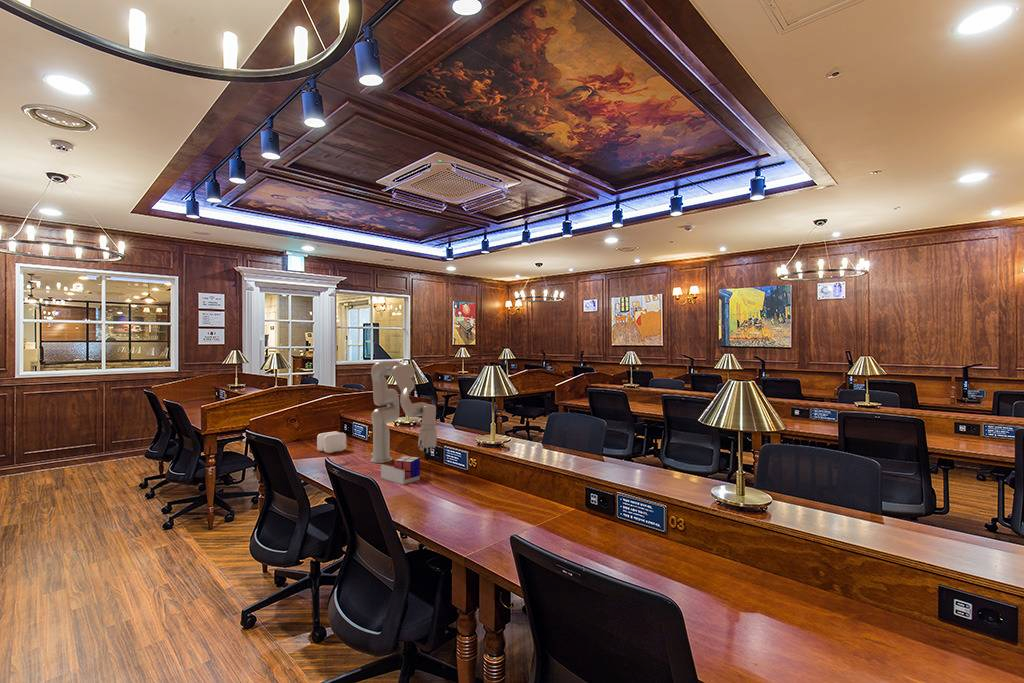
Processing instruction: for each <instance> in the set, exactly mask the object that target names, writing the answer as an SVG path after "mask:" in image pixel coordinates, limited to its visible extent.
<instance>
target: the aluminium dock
mask: <svg viewBox="0 0 1024 683" xmlns="http://www.w3.org/2000/svg"><path fill="white" fill-rule="evenodd" d="M420 477H421V475H420V476H419V475H418V476H415V477H411V478H408V479H405V470H402V469H398V468H395V467H394V466H391V465H388V464H383V463H381V464H380V478H381V479H384V480H385V481H386V480H387V481H390V482H394V483H397V484H400V485H403V486H404V485H406V484H410V483H414V482H416V481H420V479H421V478H420Z"/></svg>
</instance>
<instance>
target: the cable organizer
mask: <svg viewBox="0 0 1024 683" xmlns="http://www.w3.org/2000/svg"><path fill="white" fill-rule="evenodd" d="M346 448H347V434H346V433H344V432H339V431H337V430H336V431H335V430H334V431H329V432H322V433H319V434H317V436H316V449H317V451H320V452H321V451H322V452H325V453H327V454H332V453H334V452H343V451H344V450H346Z"/></svg>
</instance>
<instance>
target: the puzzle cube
mask: <svg viewBox="0 0 1024 683" xmlns="http://www.w3.org/2000/svg"><path fill="white" fill-rule="evenodd" d="M420 466H421V457H419V456H418V457H417V456H406V455H404V456H401V457H399V458H398V459H395V460H394V461H393V467H395V468H398V469H402V470H405V479H408V478H411V477H415V476H418V475H419V476H420V477H421V468H420Z"/></svg>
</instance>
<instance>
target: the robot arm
mask: <svg viewBox="0 0 1024 683" xmlns="http://www.w3.org/2000/svg"><path fill="white" fill-rule="evenodd" d="M415 374H416V369H415V367H414V366H413V365H411V364H409V363H407V362H402V361H399V360H383V361H378V362H375V363H374V364H373V365H372V367H371V371H370V375H371V380H372V397H373V403H374V405H376V406H378V408H375V409H374V410H373V411H372V412H371V414H370V415H371V416H370V417H371V418H370V419H371V423H372V452H371V453H370V456H372V457H371V458H370V462H371V463H374V464H383V463H385V464H386V463H388V462H391V461H393V457H392V456H390V439H391V438H390V437H391V436H390V428H389V426H388V423H392V422H393V423H394V422H396V421H397V420H399V417H400V407H401V408H402V410H403V412H404V415H406V416H407V417H408V418H416V417H421V429H420V430H419V434H418V442H417V443H418V444H417V447H418V448H419V451H423V453H424V456H423V457H424V458H423V459H424V460H426V461H430V460H431V454H432V453H433V452H432V451H433V449H435V448H436V446H437V439H438V437H437V435H438V434H437V429H436V426H437V423H436V417H437V406H436V405H434V404H429V403H427V402H423V401H422V402H420V401H419V402H413V403H412V401H411V399H410V395H409V394H410V393H411V392H412V391H413V390H414V388H415V382H414V381H413V380H412V378H414V376H415ZM385 376H392V377H393V379H394V381H395V383H396V385H397V387H398V388H399V390H400V396H399V392H398V391H397V390H396V389H394V388H389V386H388V381H387V378H386V377H385ZM379 406H383V407H379ZM384 406H385V407H384Z"/></svg>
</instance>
